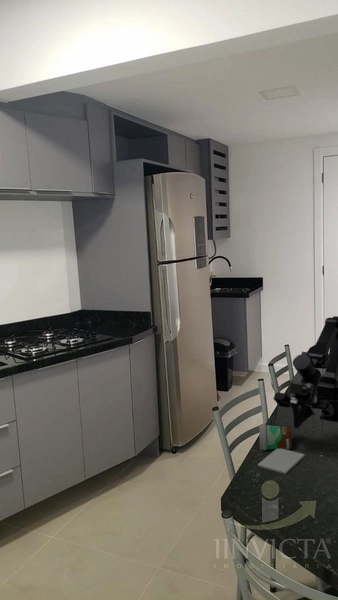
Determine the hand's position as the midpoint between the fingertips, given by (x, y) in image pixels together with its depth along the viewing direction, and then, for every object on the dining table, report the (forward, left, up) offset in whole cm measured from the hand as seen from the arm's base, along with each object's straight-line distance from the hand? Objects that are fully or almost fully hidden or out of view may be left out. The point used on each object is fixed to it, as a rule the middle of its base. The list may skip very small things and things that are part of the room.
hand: (295, 427), depth 150 cm
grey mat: (+10, 0, -7) cm, 12 cm away
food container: (-2, -3, -3) cm, 5 cm away
